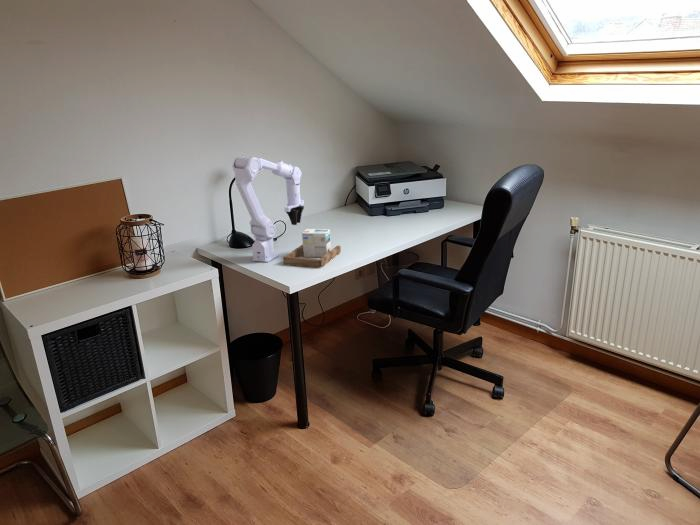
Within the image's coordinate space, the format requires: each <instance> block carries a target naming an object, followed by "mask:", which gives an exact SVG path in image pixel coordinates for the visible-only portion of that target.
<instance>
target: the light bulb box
mask: <svg viewBox="0 0 700 525" xmlns="http://www.w3.org/2000/svg"><path fill="white" fill-rule="evenodd" d="M301 237H302V244H303V252H304V253H303V258H322V257H323V256H324V255H325V254H327V253H328V252H329V251H331V250H332V246H331V245H332V244H331V231H330V229H329V228H324V229H323V228H318V229H317V228H306V229H304V231H303V232H302V233H301Z"/></svg>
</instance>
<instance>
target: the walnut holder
mask: <svg viewBox="0 0 700 525" xmlns="http://www.w3.org/2000/svg"><path fill="white" fill-rule="evenodd" d="M341 247H342V246H341V245H338V244H337V245H336V246H335V247H333V248H331V251H329V252H328V253H327V254H325V255H324V256H323V257H319V258H312V257H300V256H302V255H304V252H303V243H302V244H301V245H299V246H298V247H296V248H295V249H293V250H292V251H291V252H289V253H287V254H285V256H283V257H282V258H283V265H287V264H290V265H289V266H297V265H301V266H300V267H307V266H313V267H312V268H318V267H322V268H324V266H326V265H328V263H329V262H331V261H332V260H333V259H334V258H336V257H337V256H338V255H340V252H341V253H342V250H341V249H342V248H341ZM336 255H337V256H336ZM335 256H336V257H335ZM331 259H332V260H331ZM330 260H331V261H330ZM325 264H326V265H325Z"/></svg>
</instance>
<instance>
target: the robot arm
mask: <svg viewBox="0 0 700 525" xmlns="http://www.w3.org/2000/svg"><path fill="white" fill-rule="evenodd" d="M262 169H264V170H269V171H271V173H272V174H273V175H274V176H279V177H281V178H283V179H285V185H286V187H285V188H286V195H287V196H286V198H287V204H286V205H285V207H284V212H285V213H286V214H287V216H288V217H289V221H290V224H291V225H292V226H297V225H298V224H300V223H301V220H302V214H303V211H304V210H305V209H304V208H305V207H304V204H305V200H304V199H301V186H300V183H301V177H302V174H303V173H302V171H301V168H299V167H298V166H295V165H292V164H291V163H285V162H284V160H277V161H275V162H272V161H269V160H268V159H264V158H261V157H255V156H254V157H253V156H244V155H238V156H236V157H235V158H234V160H233V163H232V170H233V172H234V179H235V180H234V181H235V182H234V183H235V186H236V188H237V190H238V192H239V194H240V196H241V198H242V200H243V203H244V205H245V206H246V210H247V212H248V214H249V216H250V218H251V219H250V221H249V225H250V232H251V234H252V235H254V236H253V237H254V238H255V241H254V242H253V244H252V246H251V249H252V250H251V251H252V259H251V261H252V262H263V263H269V262H270V261H272V260H273V259H275V258H277V257H278V256H279V254H278V253H275V248H274V239H273V238H275V235H276V233H277V227H276V225H275V224H273V222H272V221H271V219H270V218H269V217H268V216H266V215H265V213H264V210H263V208H262V206H261V203H260V201H259V199H258V197H257V195H256V192H255V190H254V188H253V186H252V182H253V180H254V179H255V177H256V176H257V174H259V170H262Z"/></svg>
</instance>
